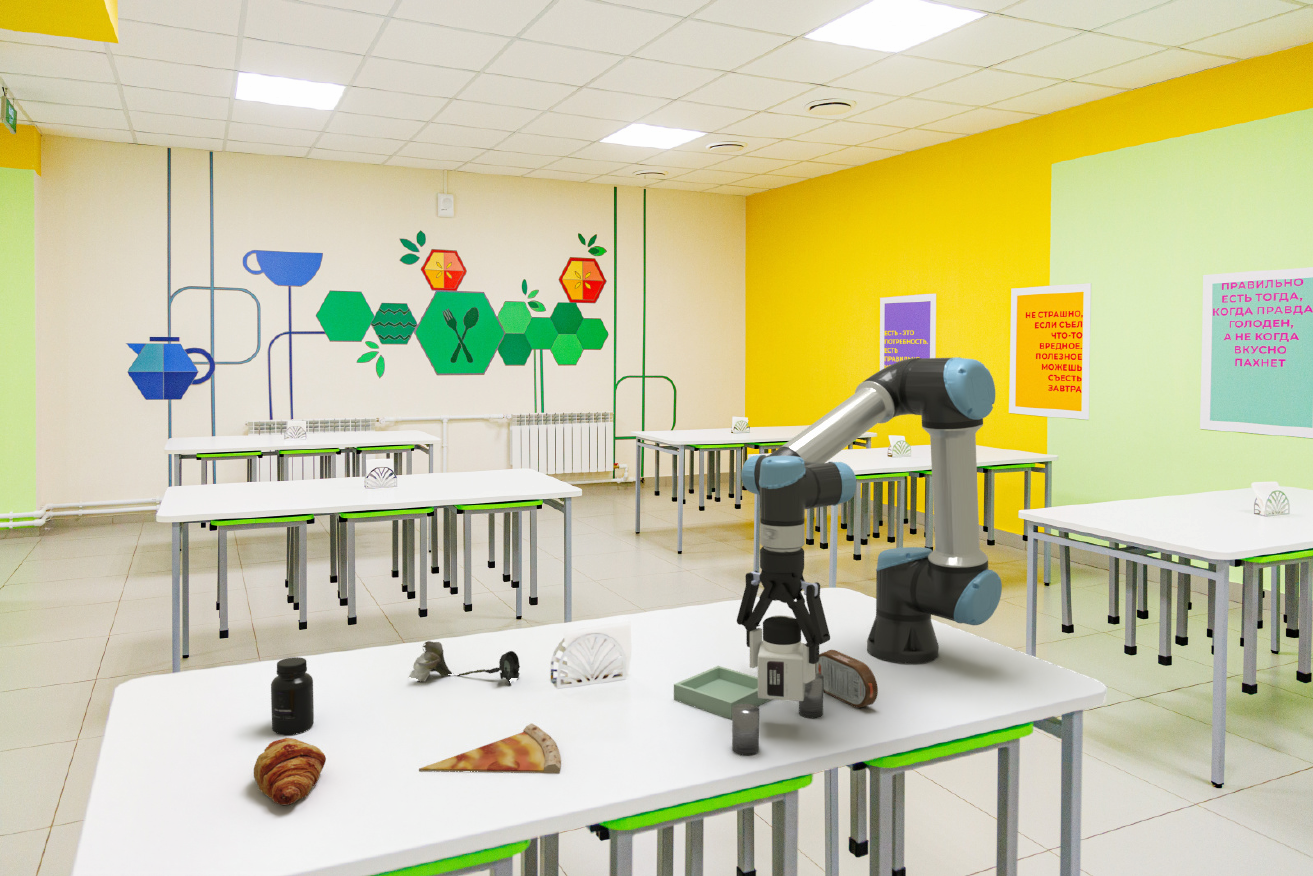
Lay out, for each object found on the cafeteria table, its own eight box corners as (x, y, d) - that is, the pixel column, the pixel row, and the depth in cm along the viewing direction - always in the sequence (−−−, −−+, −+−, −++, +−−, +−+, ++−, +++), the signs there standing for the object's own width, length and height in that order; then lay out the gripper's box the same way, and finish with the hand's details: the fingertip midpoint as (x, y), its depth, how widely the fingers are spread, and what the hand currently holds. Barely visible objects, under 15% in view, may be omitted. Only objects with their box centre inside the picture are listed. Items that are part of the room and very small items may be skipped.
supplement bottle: (273, 739, 150) (270, 670, 149) (270, 724, 156) (268, 658, 155) (316, 731, 153) (314, 664, 152) (312, 717, 159) (309, 652, 158)
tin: (878, 711, 162) (879, 666, 161) (865, 715, 160) (866, 670, 159) (823, 685, 175) (824, 644, 174) (811, 688, 173) (811, 646, 172)
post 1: (742, 741, 149) (743, 701, 148) (764, 749, 146) (764, 708, 145) (726, 750, 146) (727, 709, 145) (748, 758, 143) (748, 716, 142)
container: (803, 702, 148) (803, 626, 147) (757, 699, 150) (757, 624, 149) (805, 685, 156) (805, 613, 154) (761, 682, 157) (761, 611, 156)
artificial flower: (507, 698, 172) (494, 655, 168) (406, 699, 178) (392, 657, 175) (524, 671, 180) (512, 629, 177) (427, 673, 186) (415, 632, 183)
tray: (718, 680, 177) (718, 665, 177) (774, 697, 168) (774, 682, 168) (673, 699, 167) (673, 684, 167) (731, 719, 158) (731, 703, 158)
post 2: (807, 707, 164) (807, 670, 163) (827, 713, 161) (828, 676, 160) (793, 714, 160) (794, 676, 160) (814, 720, 157) (815, 682, 157)
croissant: (270, 777, 144) (242, 739, 142) (327, 739, 147) (301, 702, 145) (271, 839, 124) (240, 796, 122) (337, 794, 128) (307, 751, 126)
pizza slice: (446, 732, 154) (445, 721, 154) (572, 733, 153) (572, 722, 153) (419, 774, 138) (418, 761, 138) (559, 776, 138) (559, 764, 137)
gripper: (715, 541, 155) (716, 664, 157) (828, 561, 140) (827, 696, 142) (741, 534, 161) (741, 652, 163) (852, 552, 145) (851, 682, 148)
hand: (781, 673), depth 152 cm, fingers closed on container, 10 cm apart
